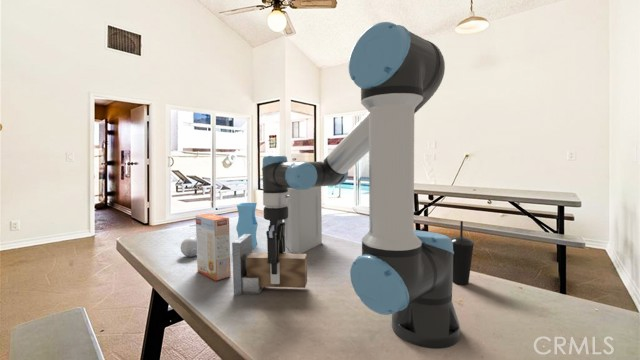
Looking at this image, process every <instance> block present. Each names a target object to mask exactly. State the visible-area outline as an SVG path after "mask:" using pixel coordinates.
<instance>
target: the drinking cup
mask: <svg viewBox="0 0 640 360" xmlns="http://www.w3.org/2000/svg"><path fill="white" fill-rule="evenodd" d="M459 227H460V229H459V231H460V233H459V236H454V237H449V238H450V239H451V240H452V242H453V251H454V254H453V282H452V284H455V285H459V286H467V285H469V282H470V275H471V269H472V268H471V267H472V259H473V254H474V246H475V245H476V244H475V241H474V240H473V239H470V238H469V237H465V236H463V235H464V234H463V233H464V231H463V229H464V221H462V220H460V226H459Z"/></svg>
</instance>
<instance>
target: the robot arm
mask: <svg viewBox="0 0 640 360" xmlns="http://www.w3.org/2000/svg"><path fill="white" fill-rule="evenodd" d="M349 55H350V56H349V58H348V59H349V60H348V73H349V77H350V79H351V80H352V81H353V83H354V84H355V85H356V86H357V87H358V88H360V104H361V105H362V106H363V107H364V108H365V109H366V110H367V112H366V114H365V115H363V116H362V118H361V119H360V120H359V121H358V122H357V123H356V124H355V125H354V126H353V128H352V129H351V130H350V131H348V133H347V134H346V135H345V136H344V138H343V139H342V140H341V141H340V142H339V143H338V144H337V145H336V146H335V147H334V149H333V150H332V151H330V153H329V154H328V155H327V156H326V157H325V158H324V159H323V160H322V161H288V157H287V156H286V155H265V156H263V157H262V167H261V171H262V172H261V173H262V190H263V192H262V204H263V206H264V207H263V219H264V220H266V221H269V225H268V227H267V228H268V230H266V233H265V234H266V242H267V244H266V247H267V253H268V261H267V263H270V274H271V284H280V262H279V253H285V254H287V253H286V246H285V222H284V220H285V219H287V218H288V207H287V206H286V205H287V204H288V198H290V196H289V195H287V194H288V188H292V189H296V190H306V189H310V188H311V187H320V186H321V187H327V186H328V187H329V186H330V187H335V186H338V185H342V184H344V183H345V182H346V181H347V179H348V178H347V177H348V176H349V171H350V170H351V169H353V167H354V166H355V165H356V164H358V162H359V161H360V160H361V159H362V158H363V157H364V156H366V155H367V154H368V155H369V156H368V162H369V164H368V182H369V183H368V184H369V185H368V189H369V191H368V192H369V193H368V195H369V197H368V198H369V199H368V201H369V205H368V207H369V210H368V212H369V214H368V216H369V225H368V227H369V230H368V232H367V233H366V234H365V235H364V236H363V237H362V239H361V255H359V256H357V257H356V259H355V260H354V261H353V262H352V264H351V265H350V266H351V267H350V271H349V273H350V282H351V285H352V287H353V291H354V292H355V294H356V297H358V298H359V299H360V301H361V302H362V304H363V305H364V306H365V307H366V308H368V309H369V310H371V311H372V312H374V313H376V314H378V315H384V316H390V315H391V327H392V330H393V332H394V333H395V334H396V335H397V336H398V337H399V338H400V339H402V340H404V341H406V342H408V343H409V344H412V345H415V346H416V347H417V346H418V347H420V348H426V349H431V350H432V349H437V350H438V349H440V350H441V349H446V348H450V347H453V346H454V345H456V344H457V343H458V342H459V341H460V337H461V327H460V321H459V319H458V315H457V312H456V309H455V306H454V303H453V254H454V251H453V242H452V240H451V239H450V238H451V237H449V236H447V235H445V234H441V233H436V232H432V231H425V230H418V229H417V230H415V229H414V225H415V223H414V221H415V217H414V216H415V208H414V207H415V114H416V113H417V112H419V111H420V109H421V108H423V107H424V105H426V104H427V103H428V101H429V100H430V99H431V98H432V97H433V96H434V94H435V93H436V92H437V90H439V87H440V86H441V84H442V81H443V79H444V76H445V69H446V63H445V58H444V55H443V54H442V51H441V50H440V48H439V47H438V46H437V45H436V44H435V43H433V42H431V41H429V39H425V38H423V37H421V36H419V35H417V34H415V33H413V32H412V31H410V30H409V29H408V28H407V27H405V26H404V25H401V24H395V23H393V22H390V21H382V22H378V23H375V24H373V25H371V26H370V27H368V28H367V29H365V30H364V32H362V34H360V36H359V37H358V40H357V41H356V42H355V43H354V45H353V47H352V49H351V52H350V54H349Z"/></svg>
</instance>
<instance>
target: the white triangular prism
mask: <svg viewBox="0 0 640 360" xmlns="http://www.w3.org/2000/svg"><path fill="white" fill-rule="evenodd" d="M287 195H289V196H290V198H288V204H287V205H286V206H287V207H288V218H287V219H285V220H283V222H285V248H287V249H288V251H289V252H291V254H304V253H305V252H307V251H309V250H311V249H313V248H315V247H318V246H319V245H321V244H323V241H322V240H323V234H322V232H323V229H322V224H323V223H322V219H323V217H322V214H323V213H322V186H320V187H311V188H310V189H306V190H296V189H292V188H288V194H287Z"/></svg>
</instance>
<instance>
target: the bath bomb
mask: <svg viewBox="0 0 640 360" xmlns="http://www.w3.org/2000/svg"><path fill="white" fill-rule="evenodd" d="M180 252H181V253H182V255H184V257H190V258H191V257H194V256H197V239H196V237H187V238H185V239H184V240H183V241H182V242H181V245H180Z"/></svg>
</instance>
